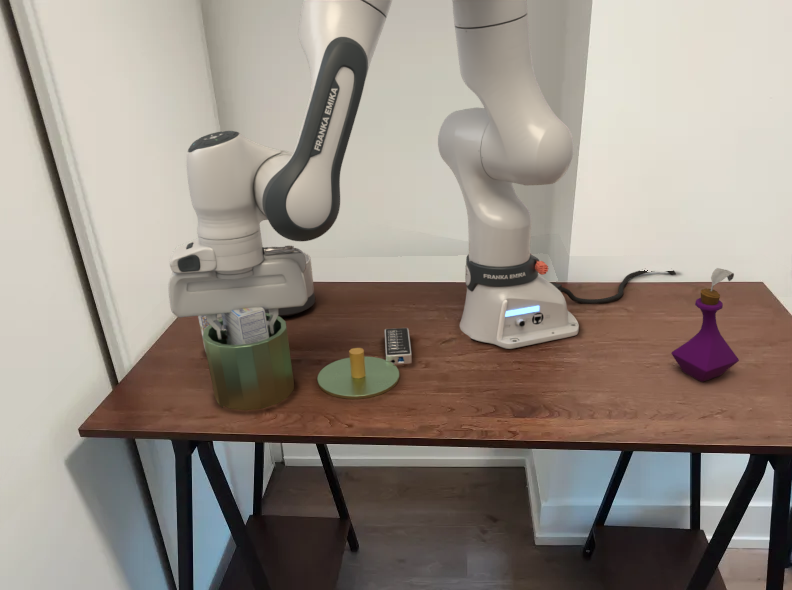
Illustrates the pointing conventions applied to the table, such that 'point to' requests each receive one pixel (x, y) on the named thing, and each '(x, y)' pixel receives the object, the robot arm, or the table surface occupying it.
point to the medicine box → (246, 326)
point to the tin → (250, 369)
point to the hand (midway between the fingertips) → (246, 335)
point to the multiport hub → (398, 346)
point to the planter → (310, 292)
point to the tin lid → (358, 376)
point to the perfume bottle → (707, 338)
